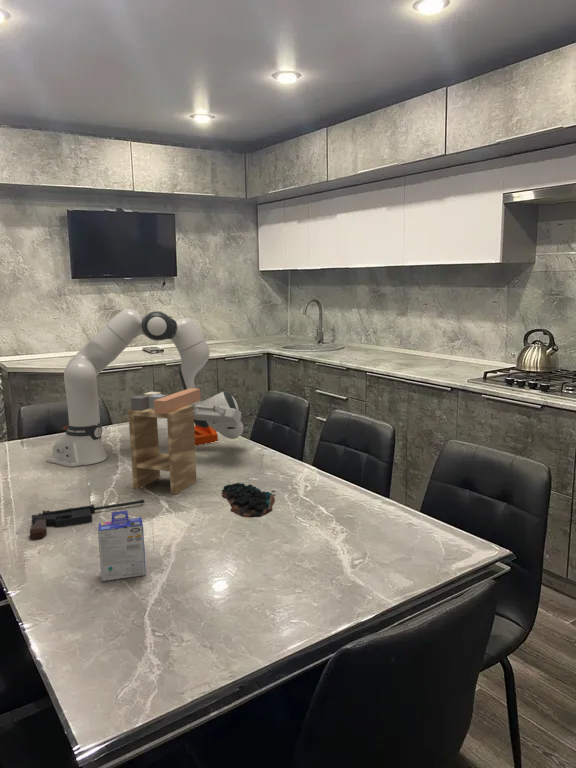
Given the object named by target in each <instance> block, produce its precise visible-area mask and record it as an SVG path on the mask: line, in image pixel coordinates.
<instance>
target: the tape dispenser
mask: <svg viewBox="0 0 576 768" xmlns="http://www.w3.org/2000/svg"><path fill="white" fill-rule="evenodd" d="M194 433H195V445H197V446H200V445H199V444H203V445H206V444H205V443H209V444H211V443H210V442H215V441H218V442H219V437H218V433H217V431H215V430H214V429H212V428H211V427H210V426H208V427H206V428H203V427H199V426H197V425H195V424H194ZM215 443H216V442H215Z"/></svg>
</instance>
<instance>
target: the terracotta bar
mask: <svg viewBox="0 0 576 768" xmlns="http://www.w3.org/2000/svg"><path fill="white" fill-rule="evenodd" d="M201 394H202V393H201V388H196V389H195V388H189V389H186V390H184V389H183V390H181V391H177V392H174V393H172V394H169V395H167V396H165V397H162V398H159V399H156V400H154V413H160V414H167V413H169V412H172V411H174V410H177V409H180V408H182V407H185V406H187V405H190V404H193V403H195V402H198V401H202V399H201V396H202V395H201Z"/></svg>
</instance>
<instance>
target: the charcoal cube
mask: <svg viewBox="0 0 576 768" xmlns="http://www.w3.org/2000/svg"><path fill="white" fill-rule="evenodd" d="M130 404H131V405H130V406H131V407H130V408H131V410H137V411H143V410H146V409H149V396H144V395H136V396H132V397H130Z"/></svg>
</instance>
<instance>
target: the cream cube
mask: <svg viewBox="0 0 576 768" xmlns="http://www.w3.org/2000/svg"><path fill="white" fill-rule="evenodd" d="M156 394H160V395H162V392H161V391H160V392H159V391H149V392H146V393H143V396H152V395H156ZM149 406H150V401H149Z"/></svg>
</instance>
